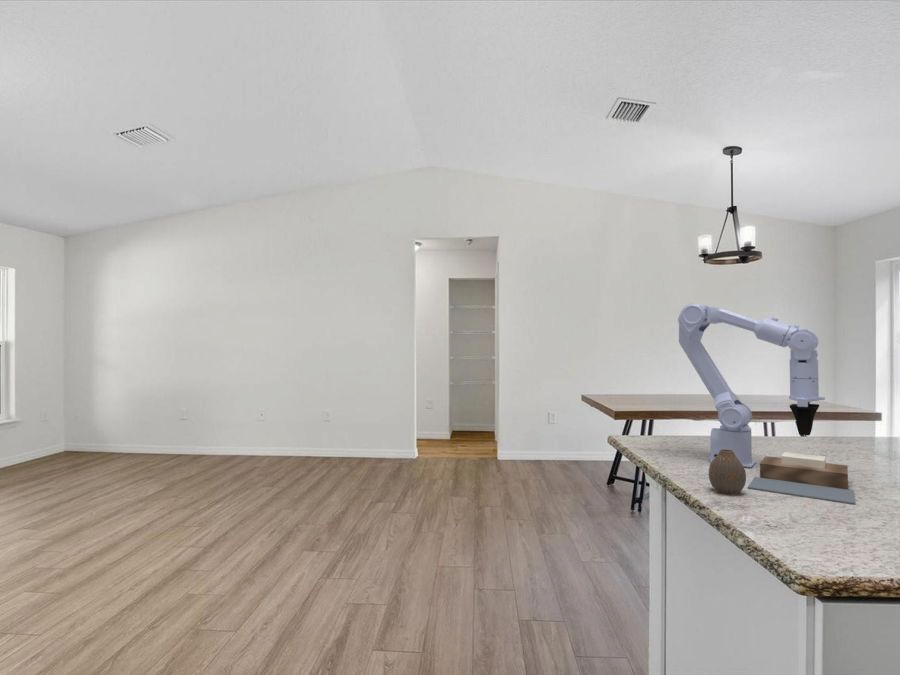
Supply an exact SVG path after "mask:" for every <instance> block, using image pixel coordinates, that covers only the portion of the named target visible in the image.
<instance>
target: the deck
mask: <svg viewBox="0 0 900 675" xmlns="http://www.w3.org/2000/svg"><path fill="white" fill-rule="evenodd" d="M848 468H849V466H848V465H845V464H835V463H827V462H825V469H820V468H811V467H803V466H795V465H786V464H781V457H778V456H777V457H775V456H767V455H766V456H764V457H763V458H762V459H761V461H760V463H759V478H766V479H774V480H781V481H788V482H796V483H803V484H810V485H817V486H825V487H832V488H839V489H847V490H849V469H848Z"/></svg>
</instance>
